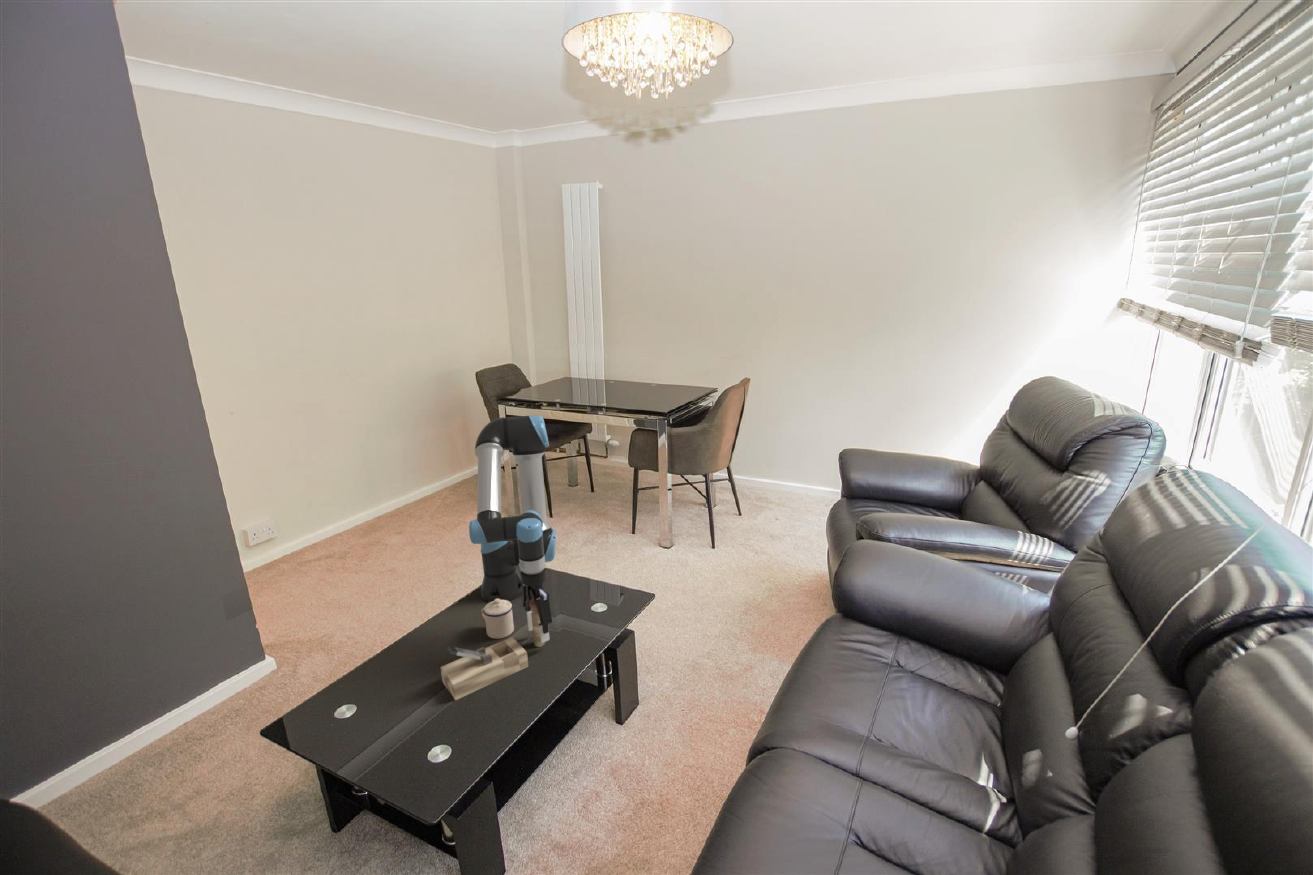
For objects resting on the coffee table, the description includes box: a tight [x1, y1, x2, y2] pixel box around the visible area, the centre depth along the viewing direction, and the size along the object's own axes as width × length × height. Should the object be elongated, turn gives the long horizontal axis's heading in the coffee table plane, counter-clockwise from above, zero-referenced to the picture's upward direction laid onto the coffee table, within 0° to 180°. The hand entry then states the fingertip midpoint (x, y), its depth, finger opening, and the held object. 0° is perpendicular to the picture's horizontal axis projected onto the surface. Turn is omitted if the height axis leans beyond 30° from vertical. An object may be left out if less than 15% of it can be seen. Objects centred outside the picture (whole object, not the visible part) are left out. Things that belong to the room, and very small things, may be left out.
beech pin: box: [529, 598, 546, 648], centre depth 182 cm, size 4×4×15 cm
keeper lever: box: [446, 645, 486, 660], centre depth 165 cm, size 3×12×1 cm
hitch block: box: [440, 636, 529, 701], centre depth 169 cm, size 10×22×7 cm, turn 129°
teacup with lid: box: [481, 599, 515, 640], centre depth 190 cm, size 12×9×12 cm
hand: (538, 634), depth 183 cm, fingers open, 8 cm apart
